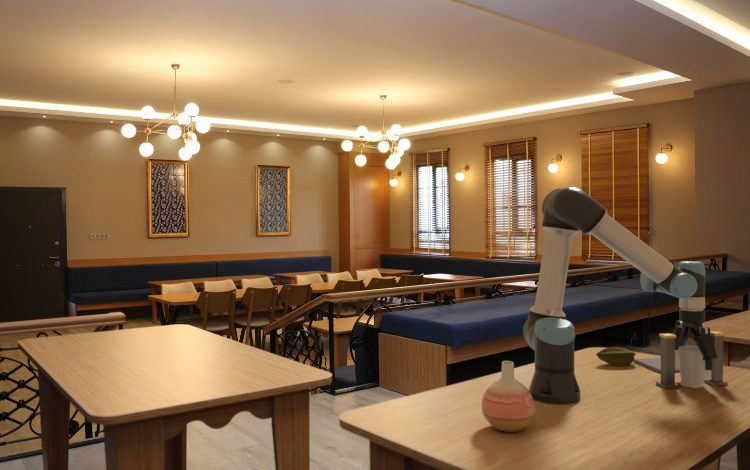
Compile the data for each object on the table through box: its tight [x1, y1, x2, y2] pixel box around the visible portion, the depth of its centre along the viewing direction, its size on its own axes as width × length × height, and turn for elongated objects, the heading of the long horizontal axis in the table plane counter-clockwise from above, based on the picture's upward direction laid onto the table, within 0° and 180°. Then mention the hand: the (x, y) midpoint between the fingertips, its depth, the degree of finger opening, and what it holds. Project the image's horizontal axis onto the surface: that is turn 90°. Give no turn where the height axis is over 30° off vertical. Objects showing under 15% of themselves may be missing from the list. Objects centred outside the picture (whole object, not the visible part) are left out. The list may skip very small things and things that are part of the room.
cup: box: [678, 345, 704, 389], centre depth 203 cm, size 8×8×12 cm
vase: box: [481, 360, 536, 433], centre depth 164 cm, size 14×14×18 cm
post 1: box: [655, 333, 681, 390], centre depth 202 cm, size 5×5×17 cm
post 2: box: [703, 330, 729, 387], centre depth 204 cm, size 5×5×17 cm
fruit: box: [595, 346, 637, 368], centre depth 231 cm, size 11×12×7 cm
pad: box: [633, 357, 680, 374], centre depth 228 cm, size 16×16×1 cm
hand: (692, 374), depth 203 cm, fingers open, 13 cm apart
